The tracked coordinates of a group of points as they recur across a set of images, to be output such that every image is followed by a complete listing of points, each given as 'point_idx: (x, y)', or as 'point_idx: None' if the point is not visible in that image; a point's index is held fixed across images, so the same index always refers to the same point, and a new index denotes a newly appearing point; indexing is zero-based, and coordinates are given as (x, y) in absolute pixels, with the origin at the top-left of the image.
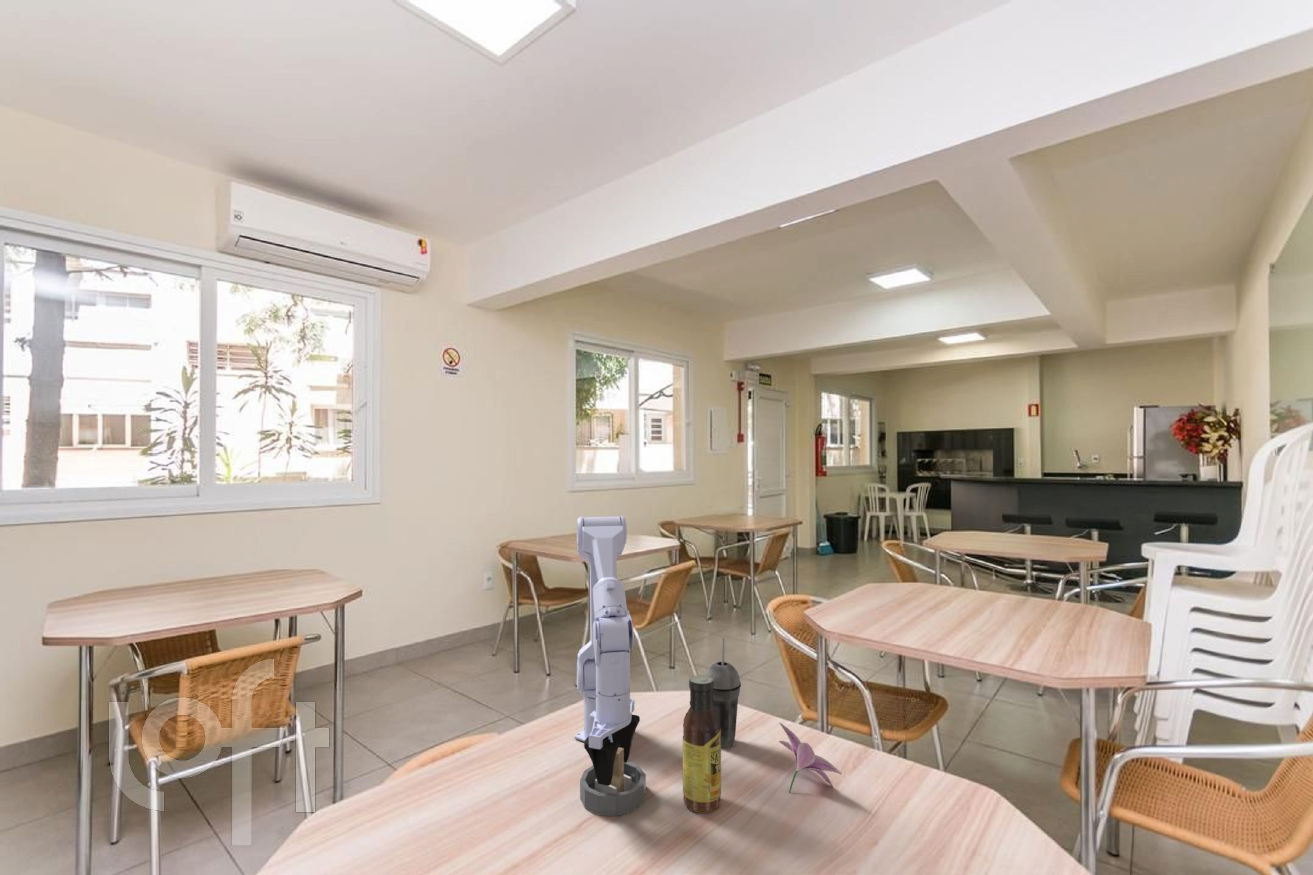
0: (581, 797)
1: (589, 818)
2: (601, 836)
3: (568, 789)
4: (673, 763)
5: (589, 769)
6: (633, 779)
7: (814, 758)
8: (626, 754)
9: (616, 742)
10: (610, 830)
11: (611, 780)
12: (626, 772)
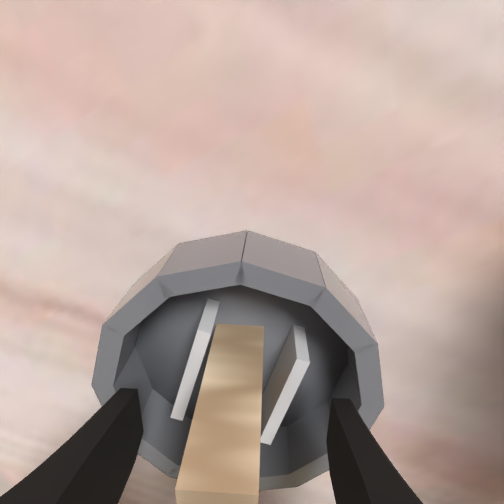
0: (161, 261)
1: (92, 318)
2: (39, 377)
3: (220, 167)
4: (493, 460)
5: (264, 280)
6: (332, 397)
7: None
8: (333, 478)
9: (357, 490)
10: (75, 390)
11: (137, 447)
12: (349, 383)
